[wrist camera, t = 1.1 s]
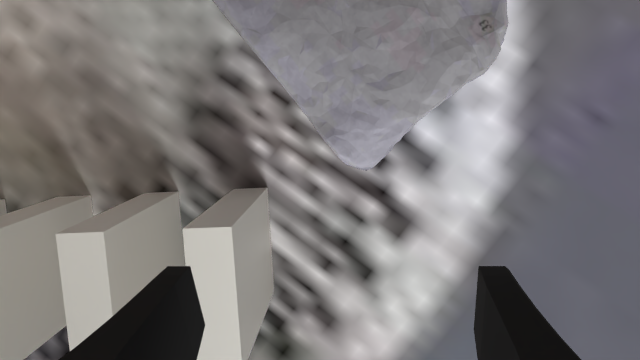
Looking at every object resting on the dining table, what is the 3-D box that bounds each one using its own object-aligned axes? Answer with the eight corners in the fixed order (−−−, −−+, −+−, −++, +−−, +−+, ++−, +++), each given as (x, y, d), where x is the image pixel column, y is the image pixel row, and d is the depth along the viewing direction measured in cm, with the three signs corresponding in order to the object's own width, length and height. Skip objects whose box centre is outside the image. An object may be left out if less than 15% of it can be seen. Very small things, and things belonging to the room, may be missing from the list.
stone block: (348, -158, 25) (177, -22, 24) (371, -232, 20) (160, -65, 19) (504, 48, 26) (347, 182, 26) (560, 24, 22) (369, 189, 21)
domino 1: (102, 296, 27) (-2, 379, 19) (70, 297, 27) (-47, 380, 19) (91, 195, 26) (-22, 236, 18) (58, 196, 26) (-69, 238, 18)
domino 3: (274, 290, 26) (242, 373, 18) (240, 292, 26) (195, 374, 18) (267, 187, 25) (231, 226, 18) (233, 189, 26) (182, 228, 18)
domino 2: (187, 293, 26) (119, 377, 18) (155, 294, 26) (73, 378, 19) (178, 191, 26) (103, 231, 18) (145, 192, 26) (55, 233, 18)
